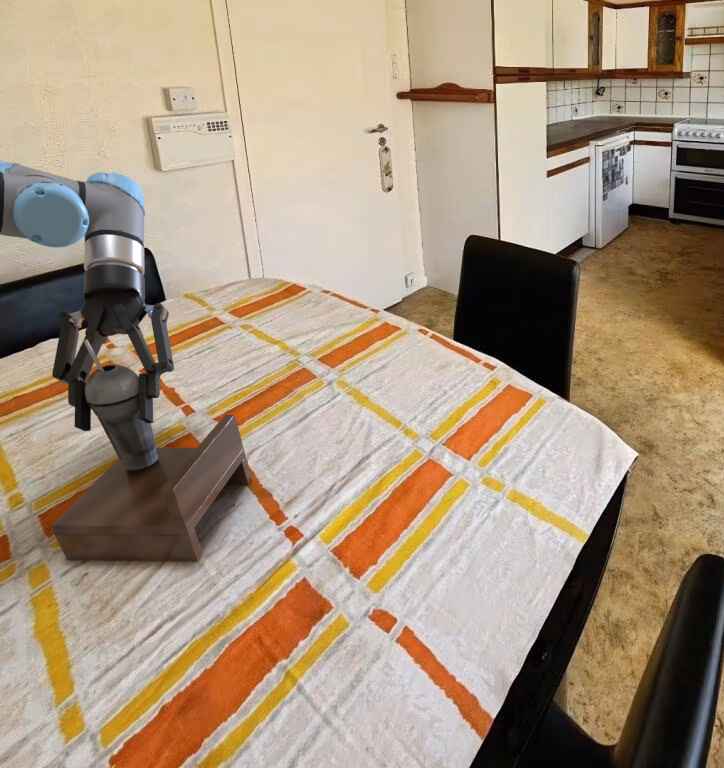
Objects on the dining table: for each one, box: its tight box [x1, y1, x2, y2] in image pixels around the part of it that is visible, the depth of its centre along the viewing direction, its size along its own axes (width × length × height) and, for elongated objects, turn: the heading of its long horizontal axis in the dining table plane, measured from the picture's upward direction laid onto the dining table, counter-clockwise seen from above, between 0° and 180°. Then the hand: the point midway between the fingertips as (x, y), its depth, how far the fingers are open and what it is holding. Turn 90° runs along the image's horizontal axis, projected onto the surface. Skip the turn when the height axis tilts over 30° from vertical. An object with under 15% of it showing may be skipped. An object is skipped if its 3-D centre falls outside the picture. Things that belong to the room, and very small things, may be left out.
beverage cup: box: [82, 339, 158, 470], centre depth 87 cm, size 7×7×20 cm
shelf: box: [50, 414, 253, 562], centre depth 88 cm, size 18×18×12 cm
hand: (114, 424), depth 85 cm, fingers closed on beverage cup, 7 cm apart
